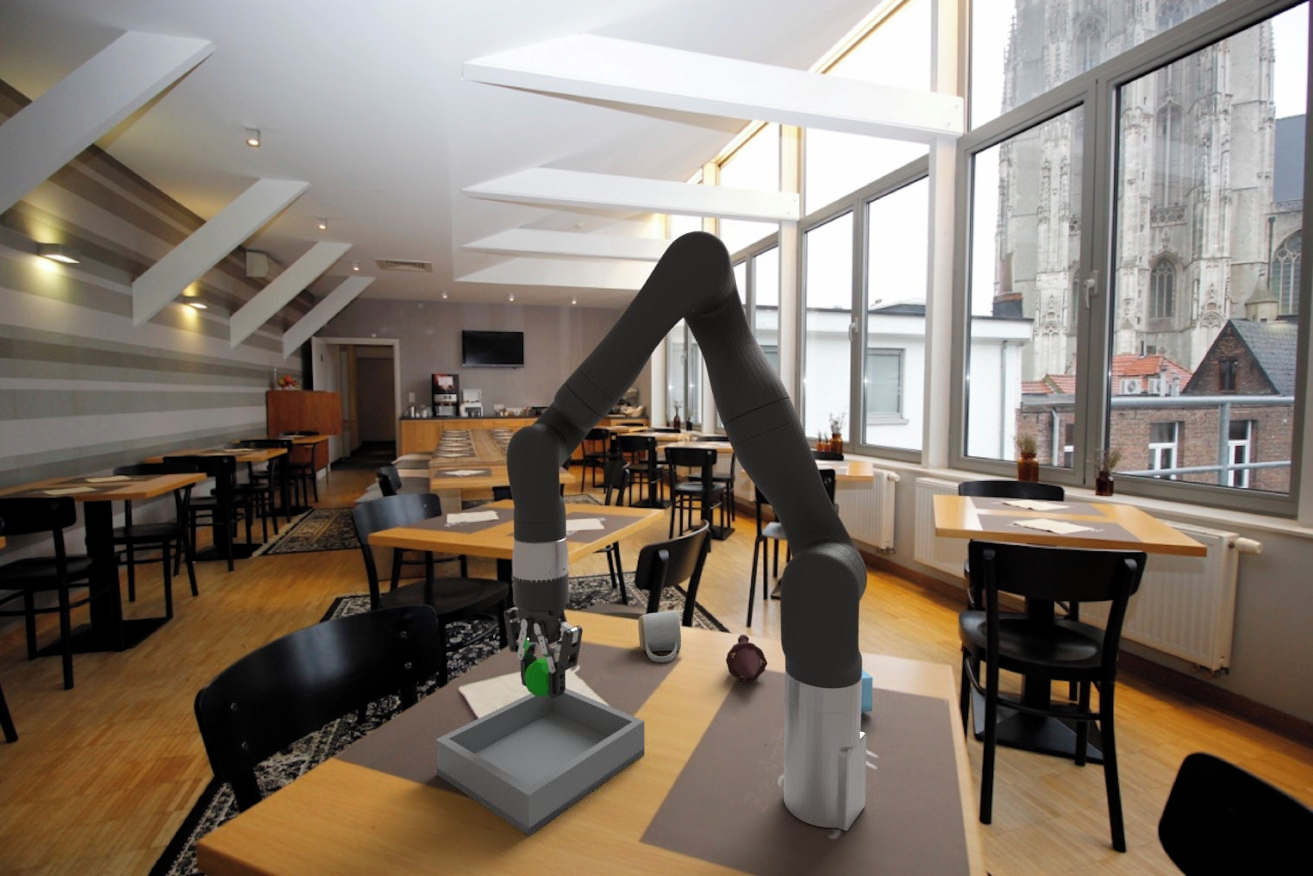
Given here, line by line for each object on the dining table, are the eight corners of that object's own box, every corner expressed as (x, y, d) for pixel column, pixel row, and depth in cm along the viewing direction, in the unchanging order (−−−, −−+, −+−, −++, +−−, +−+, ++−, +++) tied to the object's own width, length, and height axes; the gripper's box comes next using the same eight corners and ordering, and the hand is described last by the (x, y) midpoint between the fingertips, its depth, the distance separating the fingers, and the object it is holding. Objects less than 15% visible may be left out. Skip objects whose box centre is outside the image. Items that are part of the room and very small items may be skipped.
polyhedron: (521, 689, 89) (521, 656, 89) (555, 683, 91) (555, 650, 91) (529, 705, 84) (528, 671, 84) (565, 698, 86) (564, 664, 86)
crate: (644, 754, 91) (644, 721, 90) (529, 836, 74) (528, 795, 74) (553, 712, 103) (553, 682, 102) (436, 774, 86) (435, 739, 86)
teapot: (808, 690, 110) (808, 648, 110) (840, 686, 111) (841, 645, 111) (841, 725, 98) (842, 678, 98) (876, 721, 100) (877, 675, 99)
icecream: (778, 661, 107) (763, 635, 122) (736, 650, 107) (726, 625, 122) (768, 701, 107) (754, 670, 122) (726, 690, 107) (717, 660, 122)
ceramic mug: (637, 643, 131) (637, 606, 130) (676, 640, 132) (676, 605, 131) (642, 665, 120) (642, 627, 120) (685, 663, 121) (685, 624, 121)
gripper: (597, 573, 85) (598, 695, 86) (528, 555, 94) (529, 666, 95) (556, 586, 79) (557, 717, 80) (485, 566, 88) (488, 684, 89)
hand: (542, 689), depth 88 cm, fingers closed on polyhedron, 5 cm apart
